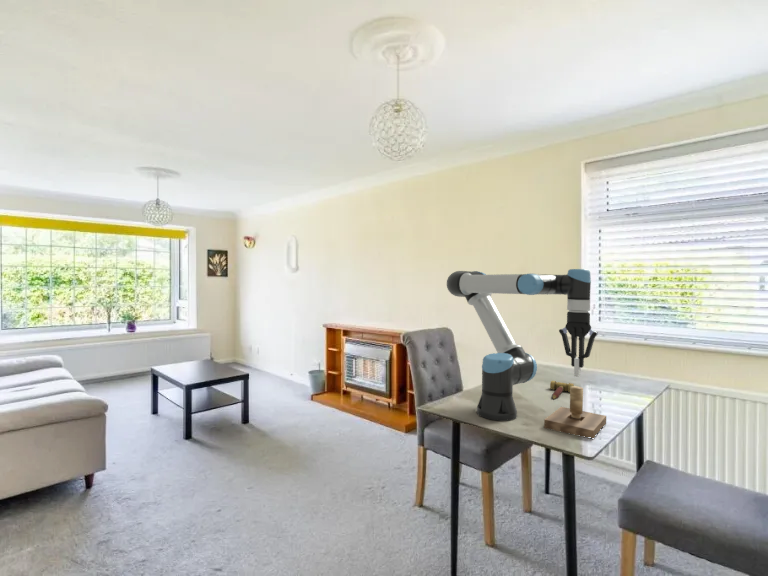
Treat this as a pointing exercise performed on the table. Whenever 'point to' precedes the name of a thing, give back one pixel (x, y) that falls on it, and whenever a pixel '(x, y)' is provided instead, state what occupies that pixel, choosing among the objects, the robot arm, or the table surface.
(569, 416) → the board
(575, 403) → the peg
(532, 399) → the table surface
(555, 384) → the gavel
